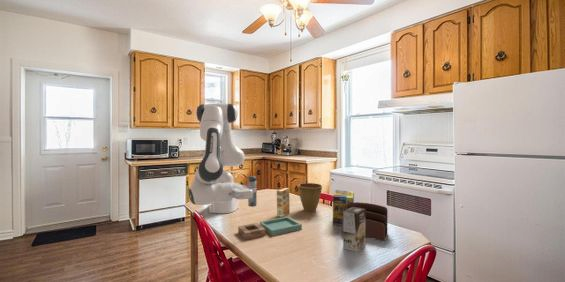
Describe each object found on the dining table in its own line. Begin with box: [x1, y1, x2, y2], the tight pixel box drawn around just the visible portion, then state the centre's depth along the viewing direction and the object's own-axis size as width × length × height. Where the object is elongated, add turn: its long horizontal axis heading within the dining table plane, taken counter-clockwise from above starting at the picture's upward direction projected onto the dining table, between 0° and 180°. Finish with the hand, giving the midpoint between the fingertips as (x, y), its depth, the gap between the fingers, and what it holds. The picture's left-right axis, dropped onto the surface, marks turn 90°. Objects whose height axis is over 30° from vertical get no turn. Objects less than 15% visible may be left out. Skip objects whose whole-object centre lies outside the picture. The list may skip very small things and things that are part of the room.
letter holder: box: [341, 201, 389, 242], centre depth 126 cm, size 10×20×14 cm, turn 61°
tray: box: [259, 216, 303, 237], centre depth 134 cm, size 14×17×2 cm
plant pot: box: [297, 182, 323, 213], centre depth 164 cm, size 15×15×16 cm
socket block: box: [237, 222, 266, 240], centre depth 126 cm, size 10×10×3 cm
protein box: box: [332, 189, 355, 227], centre depth 143 cm, size 10×15×16 cm
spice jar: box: [247, 175, 258, 208], centre depth 126 cm, size 4×4×14 cm
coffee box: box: [342, 207, 366, 252], centre depth 112 cm, size 9×6×16 cm
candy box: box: [276, 187, 291, 218], centre depth 155 cm, size 9×4×15 cm, turn 150°
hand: (254, 188), depth 126 cm, fingers closed on spice jar, 4 cm apart
